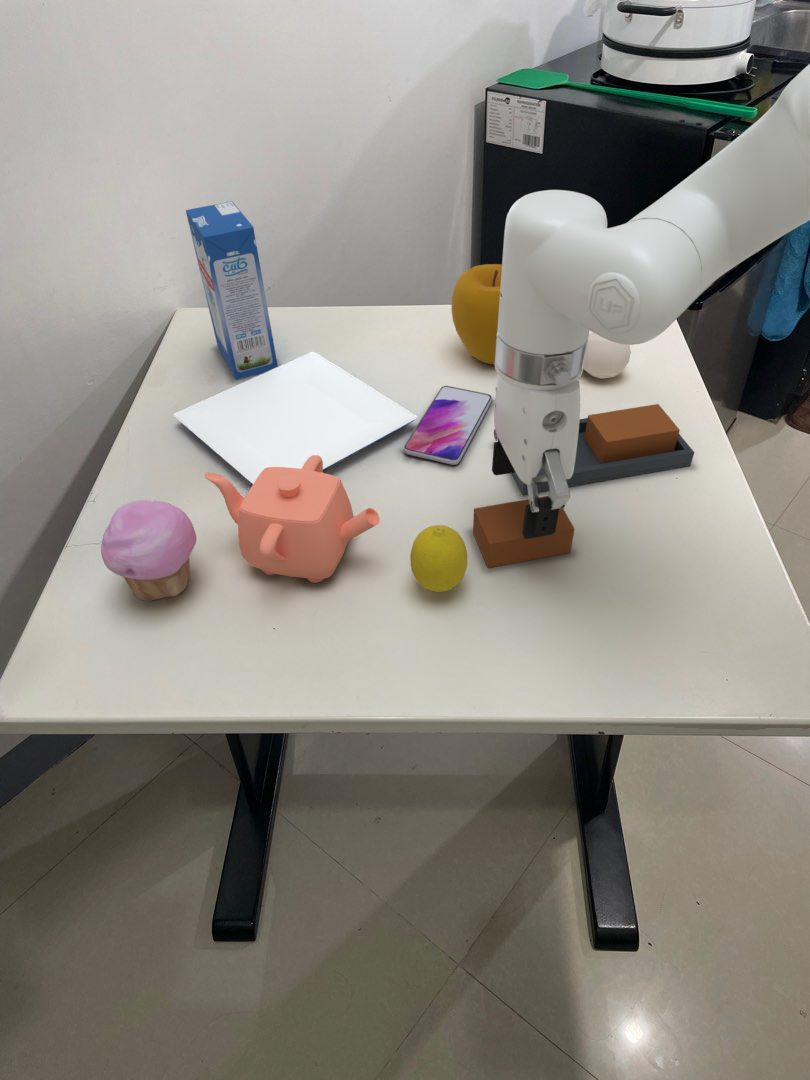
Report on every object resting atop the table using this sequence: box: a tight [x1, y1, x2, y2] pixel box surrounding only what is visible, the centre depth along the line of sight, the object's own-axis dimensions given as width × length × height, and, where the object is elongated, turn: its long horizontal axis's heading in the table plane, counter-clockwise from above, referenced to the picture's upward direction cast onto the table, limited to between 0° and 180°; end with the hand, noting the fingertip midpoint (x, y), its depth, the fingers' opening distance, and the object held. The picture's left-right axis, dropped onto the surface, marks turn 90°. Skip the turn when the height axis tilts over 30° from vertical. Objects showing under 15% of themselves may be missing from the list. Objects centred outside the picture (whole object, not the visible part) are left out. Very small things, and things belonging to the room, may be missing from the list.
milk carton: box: [185, 201, 279, 381], centre depth 100 cm, size 10×6×20 cm, turn 25°
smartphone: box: [402, 385, 493, 466], centre depth 93 cm, size 7×1×15 cm
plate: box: [173, 351, 418, 485], centre depth 93 cm, size 22×22×2 cm
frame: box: [497, 417, 695, 496], centre depth 87 cm, size 10×21×2 cm, turn 102°
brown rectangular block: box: [584, 403, 681, 464], centre depth 87 cm, size 6×9×4 cm, turn 102°
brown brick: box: [472, 495, 575, 569], centre depth 77 cm, size 6×9×4 cm, turn 102°
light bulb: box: [583, 332, 632, 380], centre depth 100 cm, size 7×7×11 cm
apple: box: [451, 263, 502, 365], centre depth 100 cm, size 11×11×13 cm
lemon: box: [409, 524, 468, 593], centre depth 71 cm, size 6×6×8 cm
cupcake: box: [100, 499, 197, 602], centre depth 72 cm, size 9×9×10 cm
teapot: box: [203, 455, 380, 584], centre depth 74 cm, size 14×12×10 cm
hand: (521, 501), depth 74 cm, fingers open, 9 cm apart
